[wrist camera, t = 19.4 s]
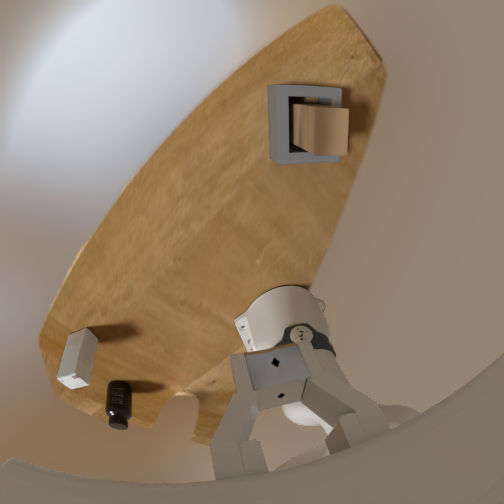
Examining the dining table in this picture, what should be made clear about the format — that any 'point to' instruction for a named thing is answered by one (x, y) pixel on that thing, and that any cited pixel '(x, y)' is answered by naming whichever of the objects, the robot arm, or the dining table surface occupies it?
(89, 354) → the skincare box
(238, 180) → the dining table surface
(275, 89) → the holder
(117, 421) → the supplement bottle
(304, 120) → the walnut peg
